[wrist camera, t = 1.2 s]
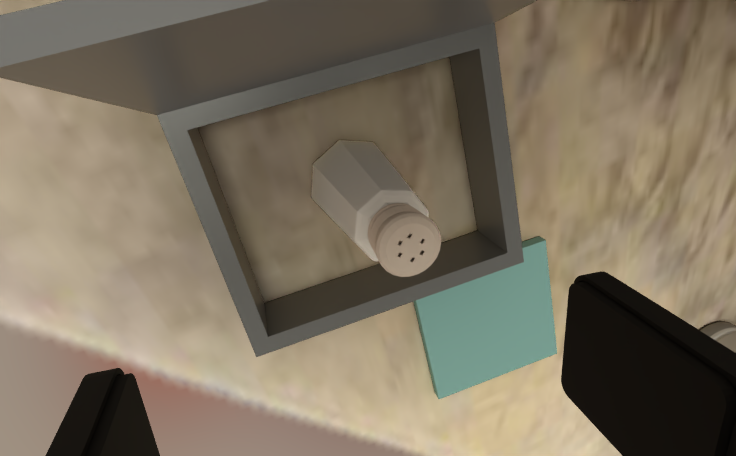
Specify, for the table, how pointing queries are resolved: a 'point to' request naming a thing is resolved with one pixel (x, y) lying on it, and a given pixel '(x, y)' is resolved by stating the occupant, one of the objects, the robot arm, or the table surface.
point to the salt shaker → (375, 207)
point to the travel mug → (722, 334)
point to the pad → (489, 323)
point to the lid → (213, 43)
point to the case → (375, 285)
